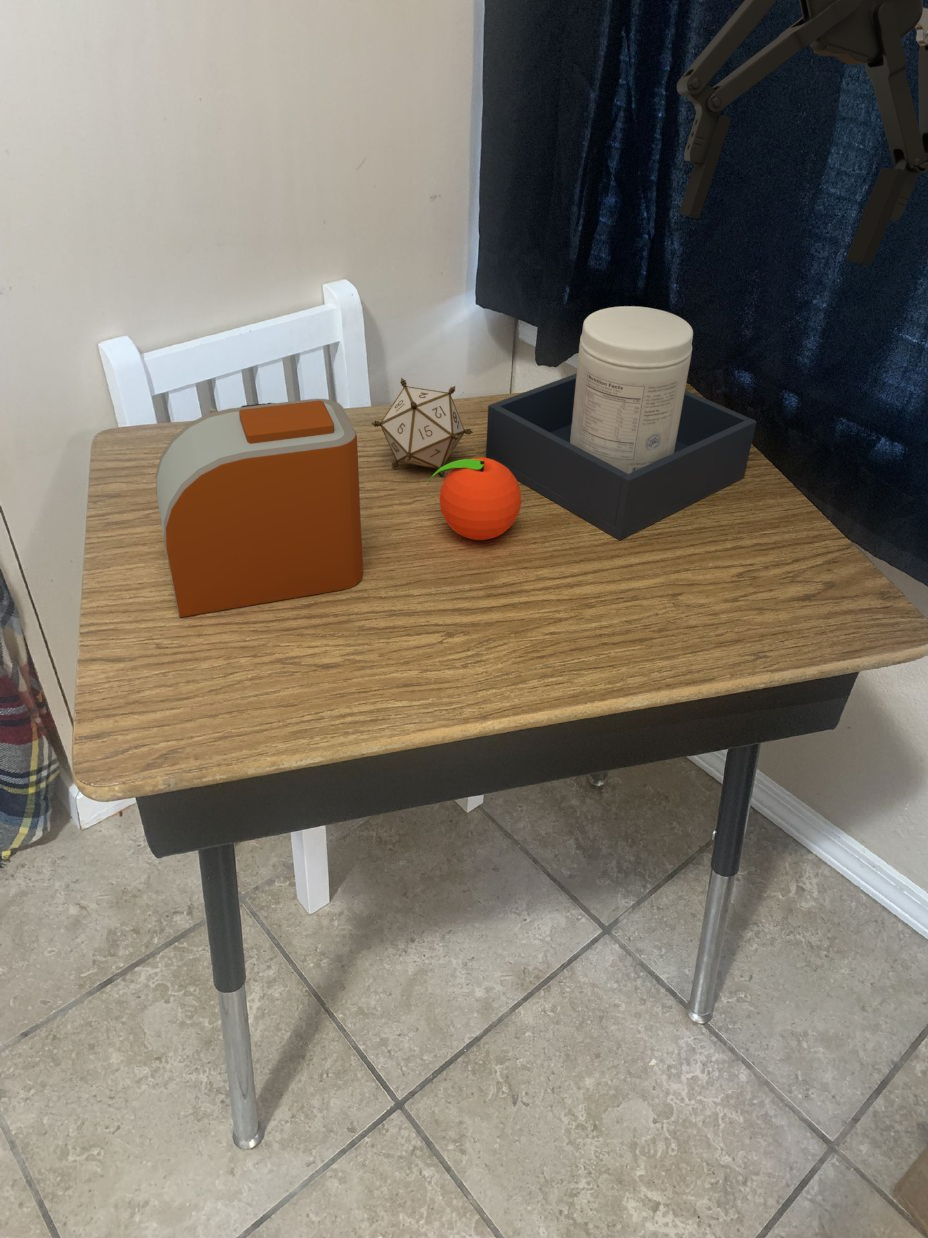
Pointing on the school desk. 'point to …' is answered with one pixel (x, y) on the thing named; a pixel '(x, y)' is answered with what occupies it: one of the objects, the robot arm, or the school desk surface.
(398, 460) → the game die
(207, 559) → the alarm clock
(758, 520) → the school desk surface
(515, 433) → the bin
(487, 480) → the clementine
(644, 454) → the supplement tub
